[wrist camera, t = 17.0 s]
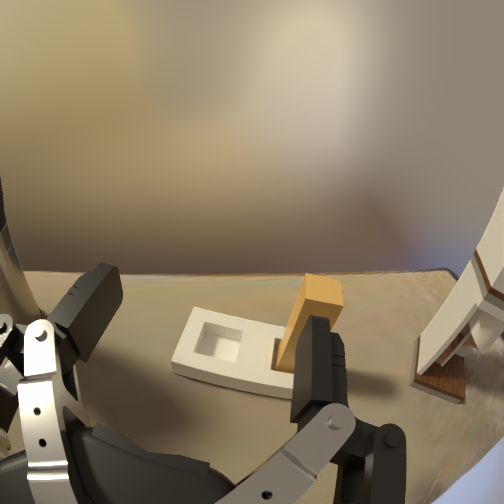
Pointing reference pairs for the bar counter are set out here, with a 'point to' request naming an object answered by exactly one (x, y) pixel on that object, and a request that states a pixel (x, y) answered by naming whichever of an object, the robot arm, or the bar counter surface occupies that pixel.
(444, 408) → the bar counter surface
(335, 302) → the plug
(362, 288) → the bar counter surface
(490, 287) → the white tower
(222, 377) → the white socket board
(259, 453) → the bar counter surface
